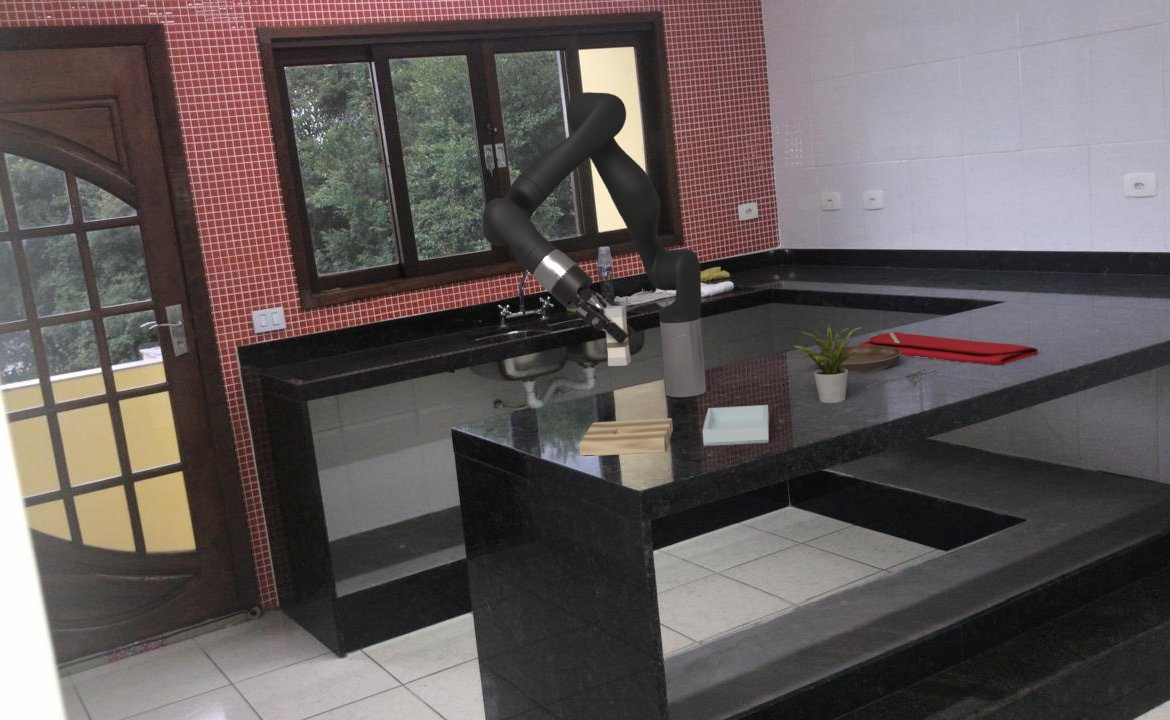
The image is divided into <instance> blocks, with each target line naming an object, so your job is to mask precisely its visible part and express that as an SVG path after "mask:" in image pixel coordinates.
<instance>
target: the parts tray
mask: <svg viewBox="0 0 1170 720" xmlns="http://www.w3.org/2000/svg"><path fill="white" fill-rule="evenodd" d="M769 413H770V412H769V404H761V405H760V404H758V405H743V406H742V405H740V406H739V405H738V406H725V407H724V406H721V407H708V408H707V412H706V415H705V418H704V423H703V426H702V427H703V428H702V440H703V441H702V442H703V443H702V444H703V447H710V446H729V445H730V446H733V445H749V444H750V445H751V444H752V445H753V444H768V443H769V441H770V437H769V436H770V414H769Z"/></svg>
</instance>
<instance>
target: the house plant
mask: <svg viewBox="0 0 1170 720" xmlns="http://www.w3.org/2000/svg"><path fill="white" fill-rule="evenodd" d="M862 328H863V326H861V327H856V328H854V329H852V330H850V331H849V332H848V333H847V334H846V335H845V337H844V338H843V339H841V340H839V338H840V336H841V334H842V333H843V332H844V331H846V330H849V328H848V327H847V328H845V329H843V330H841V331H840V333H839V332H837V333H835V336H834V341H833V337H832V336H833V333H832V332H833V331H832V329H831V326H830V325H827V332H826V340H825V338H824V337H823V336H822V335H821V334H820V333H819V331H817V330H815V329H814V328H812V330H813V331H814V332H815V333H816V334H817V335H818V336H819V337H820V339H819V338H818V337H817V336H816V335H814V334H812V333H808V332H804V331H803V332H802V331H801V333H802V334H806V335H808V336H809V337H810V338H811V339H812V340H814V342H815V343H816V345H817V346H818V348H819V350H818V352H819V353H822V354H823V355H822V354H821V355H822V356H824V357H821V356H820V355H819V354H818V353H817V352H816V351H814V349H813V350H812V349H810V348H808V347H805V346H801V345H793V347H794V348H797V349H799V350H800V351H801V352H803V353H806V354H807V355H805V356H802V357H800V358H799V359H798V361H800V360H802V359H805V358H806V359H807V358H811V359H812V360H813V361H814V362H815V363H816V365H817V366H819V367H820V368H821V369H817V370H814V372H813V377H814V379H815V384H816V389H817V394H818V397H819V402H821V403H825V404H833V403H834V404H837V403H842V402H845V400H846V393H847V385H848V384H847V383H848V376H849V375H848V374H849V373H848V370H847V369H842V368H840V366H841V364H842V363H843V362H844V361H846V360H848V359H850V358H854V357H852V356H850V357H848V356H847V355H848V354H850V353H855V352H845V353H843V354H842V352H843V350H844V348H845V347H847V345H848V344H849V343H850V342H851V340H852V339H853V338H854V337H855V335H853V334H854V333H855V331H857V330H860V329H862ZM852 335H853V336H852ZM808 336H806V337H807V338H808ZM851 336H852V337H851ZM850 337H851V338H850ZM801 338H802V339H804V337H802V336H801ZM807 338H805V340H807V342H810V343H811V341H810V340H809V339H807ZM848 339H849V340H848ZM838 340H839V341H838ZM847 341H848V342H847ZM846 342H847V343H846ZM833 343H834V344H833ZM843 347H844V348H843ZM815 348H816V349H818V348H817V347H816V346H815ZM839 348H840V349H839ZM833 349H834V352H833ZM842 349H843V350H842ZM838 350H839V351H838ZM841 354H842V355H841ZM855 354H856V353H855ZM856 355H857V354H856ZM825 360H826V361H825Z"/></svg>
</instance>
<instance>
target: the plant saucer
mask: <svg viewBox="0 0 1170 720" xmlns="http://www.w3.org/2000/svg"><path fill="white" fill-rule="evenodd" d="M844 347H845V346H844ZM844 347H843V348H844ZM839 349H840V347H839ZM842 350H843V349H842ZM838 351H839V350H838ZM833 352H834V348H833ZM845 352H855V353H856V354H857V355H856V354H855V353H850V354H848V355H847V356H848V357H850V356H852V357H854V358H850V359H848V360H846V361H844V362H843V363H842V364H841V366H840V368H842V369H847V370H848V374H860V373H859V372H864V373H870V372H869V371H873V372H877V371H876V370H879V371H882V370H881V369H883V370H886V369H888V367H889V368H890V367H892V366H893V365H894V364H895V363H896V362H897V361H898V360H899V358H900V357H901V356H900V355H901V351H900V350H899V349H897V348H893V347H886V346H859V345H855V346H853V345H852V346H846V347H845V348H844V350H843V352H842V354H843V353H845ZM818 354H819V355H820V356H821V357H824V356H822V355H823V354H822V353H820V352H819V353H818ZM821 354H822V355H821ZM842 354H841V355H842ZM825 361H826V360H825ZM885 368H886V369H885Z"/></svg>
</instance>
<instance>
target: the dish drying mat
mask: <svg viewBox="0 0 1170 720" xmlns="http://www.w3.org/2000/svg"><path fill="white" fill-rule="evenodd" d="M858 346H886V347H893V348H897V349H899V350H900V351H901V355H907V356H920V357H928V358H936V359H943V360H942V361H944V360H949V361H948V362H955V361H959V362H958V363H965V362H972V363H971V364H976V363H982V364H981V365H987V364H991V365H990V366H999V365H1002V366H1004V365H1007V364H1010V362H1011V363H1013V361H1014V362H1017V361H1020V360H1022V358H1023V359H1026V357H1027V358H1029V357H1032V356H1036V355H1038V353H1039V350H1038V349H1037V348H1036V347H1031V346H1027V345H1020V344H1016V343H1015V344H1013V343H1012V344H1011V343H1003V342H1002V343H999V342H988V341H978V340H977V341H975V340H969V339H968V340H966V339H959V338H949V337H940V336H939V337H938V336H930V335H922V334H914V333H913V334H911V333H905V332H904V333H903V332H897V331H896V332H895V331H890V332H885V333H882V334H878V335H875V336H871V337H870V338H868V341H864V342H861V343H859V344H858ZM1019 359H1020V360H1019ZM1016 360H1017V361H1016ZM1006 363H1007V364H1006Z"/></svg>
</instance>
